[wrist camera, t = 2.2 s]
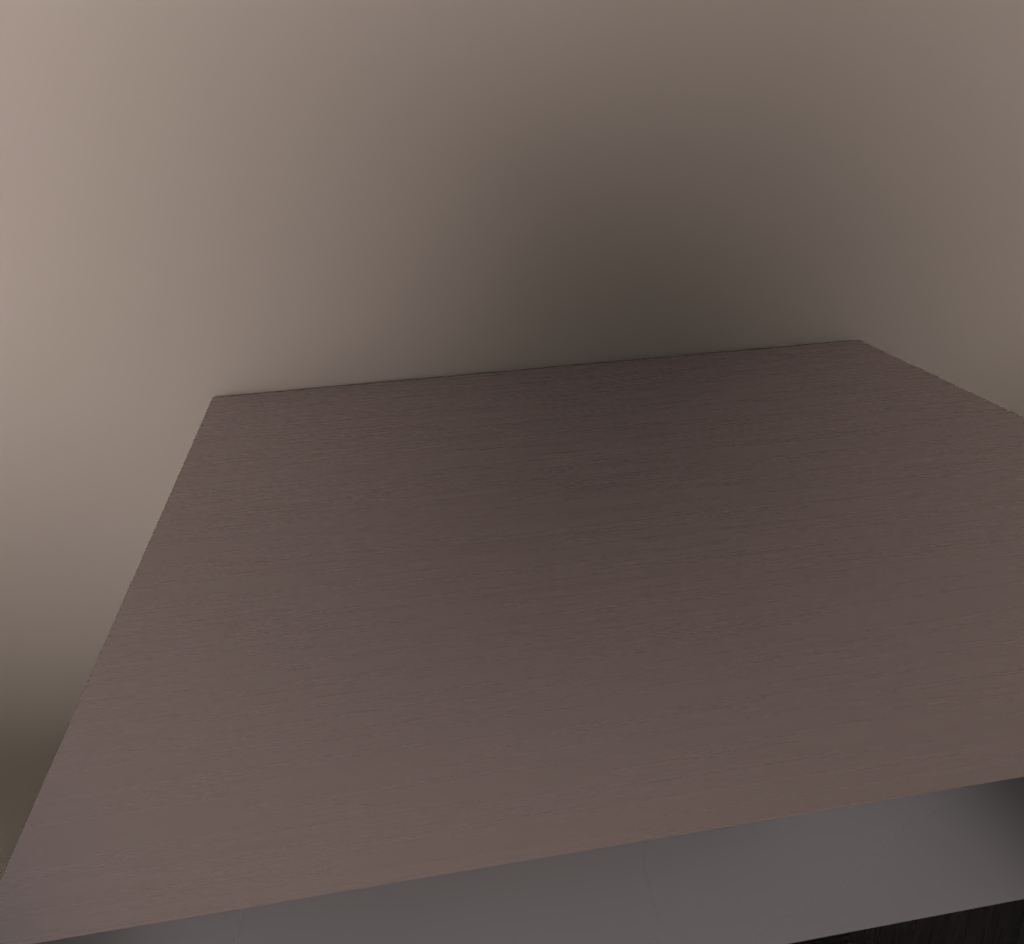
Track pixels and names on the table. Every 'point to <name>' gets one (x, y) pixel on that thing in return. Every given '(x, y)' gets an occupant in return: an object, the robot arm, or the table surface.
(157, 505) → the table surface
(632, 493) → the collar
